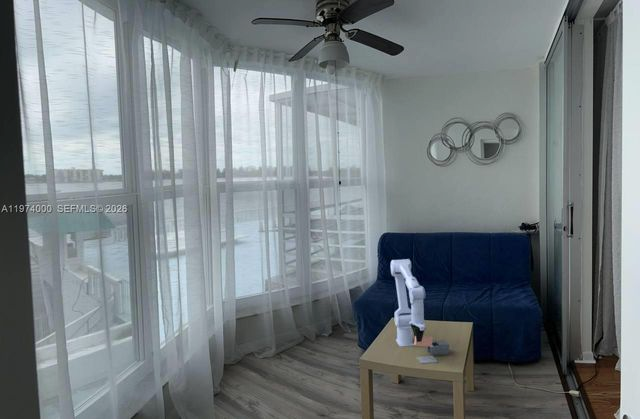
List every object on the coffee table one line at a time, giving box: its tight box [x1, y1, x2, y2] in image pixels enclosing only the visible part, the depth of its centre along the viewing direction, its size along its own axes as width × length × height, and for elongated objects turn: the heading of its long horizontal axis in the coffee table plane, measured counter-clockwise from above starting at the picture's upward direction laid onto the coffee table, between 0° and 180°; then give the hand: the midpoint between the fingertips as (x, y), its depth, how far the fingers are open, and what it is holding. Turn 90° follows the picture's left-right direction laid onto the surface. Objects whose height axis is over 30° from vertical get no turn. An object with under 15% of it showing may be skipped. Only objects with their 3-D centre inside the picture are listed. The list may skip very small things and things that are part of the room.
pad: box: [416, 355, 439, 365], centre depth 202 cm, size 7×8×1 cm
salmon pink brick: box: [413, 335, 434, 347], centre depth 204 cm, size 2×8×4 cm, turn 94°
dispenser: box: [426, 339, 450, 357], centre depth 209 cm, size 6×9×5 cm, turn 95°
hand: (418, 340), depth 204 cm, fingers closed on salmon pink brick, 2 cm apart
